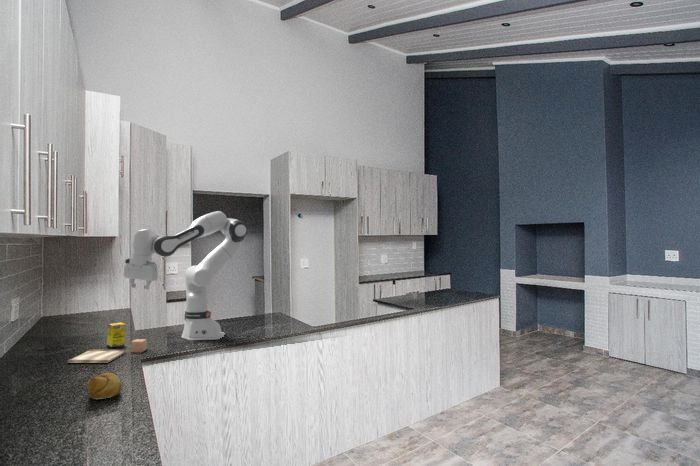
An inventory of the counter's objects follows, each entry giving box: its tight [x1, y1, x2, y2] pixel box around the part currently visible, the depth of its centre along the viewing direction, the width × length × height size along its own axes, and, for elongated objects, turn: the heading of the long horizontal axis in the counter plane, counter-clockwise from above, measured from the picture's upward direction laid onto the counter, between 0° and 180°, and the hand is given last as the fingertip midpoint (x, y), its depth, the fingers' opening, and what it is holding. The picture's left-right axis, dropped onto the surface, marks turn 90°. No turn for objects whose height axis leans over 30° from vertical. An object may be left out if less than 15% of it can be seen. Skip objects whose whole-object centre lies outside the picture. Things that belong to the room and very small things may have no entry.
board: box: [67, 349, 127, 364], centre depth 172 cm, size 16×16×2 cm
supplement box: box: [106, 322, 127, 349], centre depth 192 cm, size 6×6×11 cm
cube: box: [130, 338, 148, 353], centre depth 185 cm, size 5×5×5 cm
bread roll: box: [86, 372, 123, 399], centre depth 133 cm, size 13×10×8 cm
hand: (139, 288), depth 196 cm, fingers open, 8 cm apart
